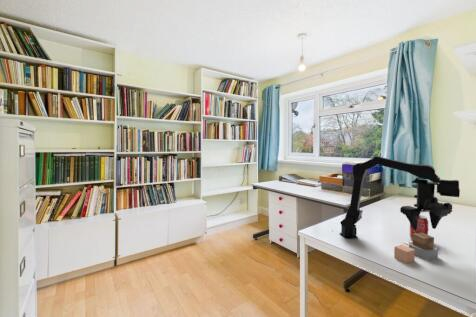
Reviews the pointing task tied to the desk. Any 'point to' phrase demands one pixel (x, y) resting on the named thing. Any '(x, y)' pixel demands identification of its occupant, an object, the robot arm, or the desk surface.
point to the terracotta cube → (404, 253)
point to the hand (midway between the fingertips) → (424, 229)
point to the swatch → (408, 242)
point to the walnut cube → (423, 241)
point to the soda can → (420, 226)
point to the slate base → (425, 252)
